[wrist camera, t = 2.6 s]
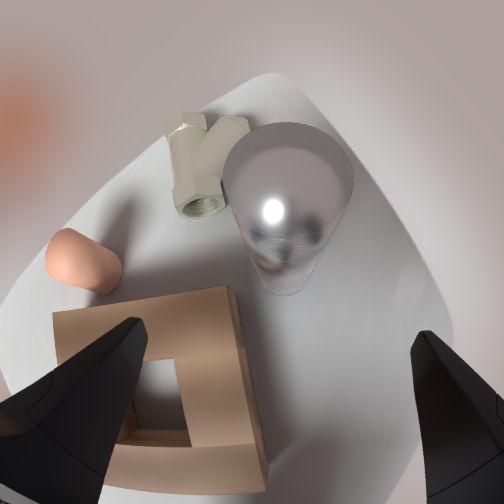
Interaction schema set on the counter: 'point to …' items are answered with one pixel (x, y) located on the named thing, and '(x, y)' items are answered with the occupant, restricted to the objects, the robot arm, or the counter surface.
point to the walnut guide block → (184, 395)
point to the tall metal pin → (287, 199)
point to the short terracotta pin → (82, 262)
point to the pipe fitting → (200, 160)
